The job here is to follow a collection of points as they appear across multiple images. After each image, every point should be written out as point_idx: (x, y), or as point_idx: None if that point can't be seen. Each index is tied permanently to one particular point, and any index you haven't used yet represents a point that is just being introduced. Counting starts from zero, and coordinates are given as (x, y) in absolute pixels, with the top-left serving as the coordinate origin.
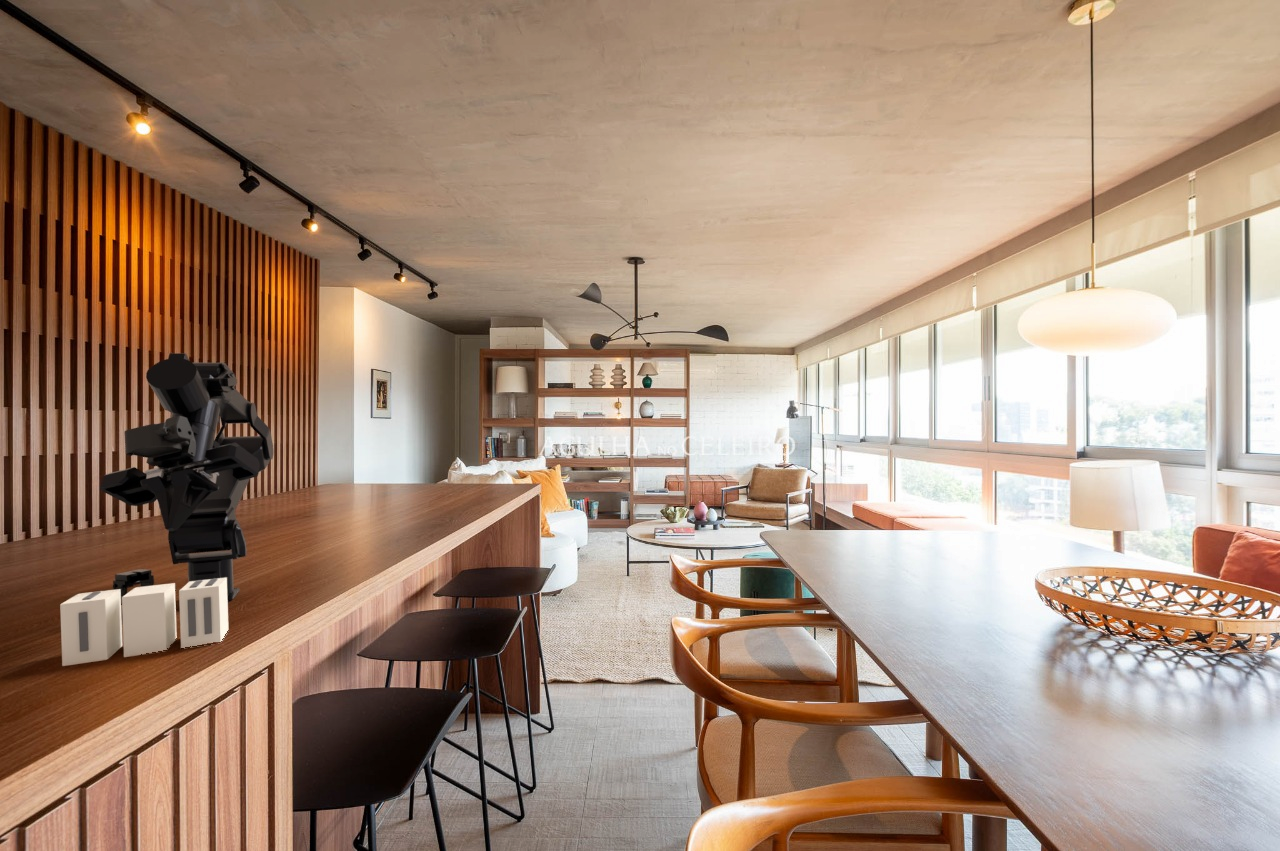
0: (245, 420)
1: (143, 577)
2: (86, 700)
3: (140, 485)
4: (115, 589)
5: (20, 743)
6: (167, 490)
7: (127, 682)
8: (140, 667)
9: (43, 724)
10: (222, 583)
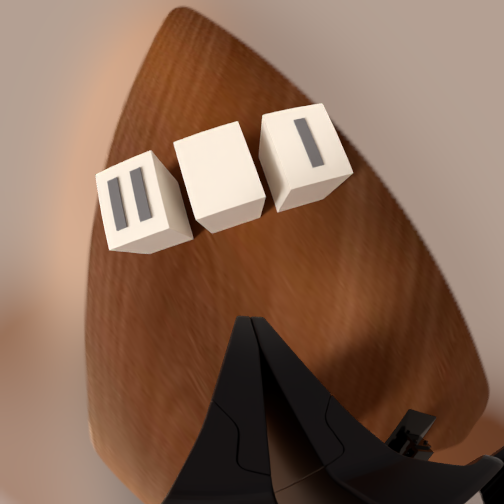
0: None
1: None
2: (197, 58)
3: (482, 494)
4: (422, 440)
5: (198, 16)
6: (330, 487)
7: (182, 88)
8: (193, 123)
9: (202, 31)
10: (101, 207)
